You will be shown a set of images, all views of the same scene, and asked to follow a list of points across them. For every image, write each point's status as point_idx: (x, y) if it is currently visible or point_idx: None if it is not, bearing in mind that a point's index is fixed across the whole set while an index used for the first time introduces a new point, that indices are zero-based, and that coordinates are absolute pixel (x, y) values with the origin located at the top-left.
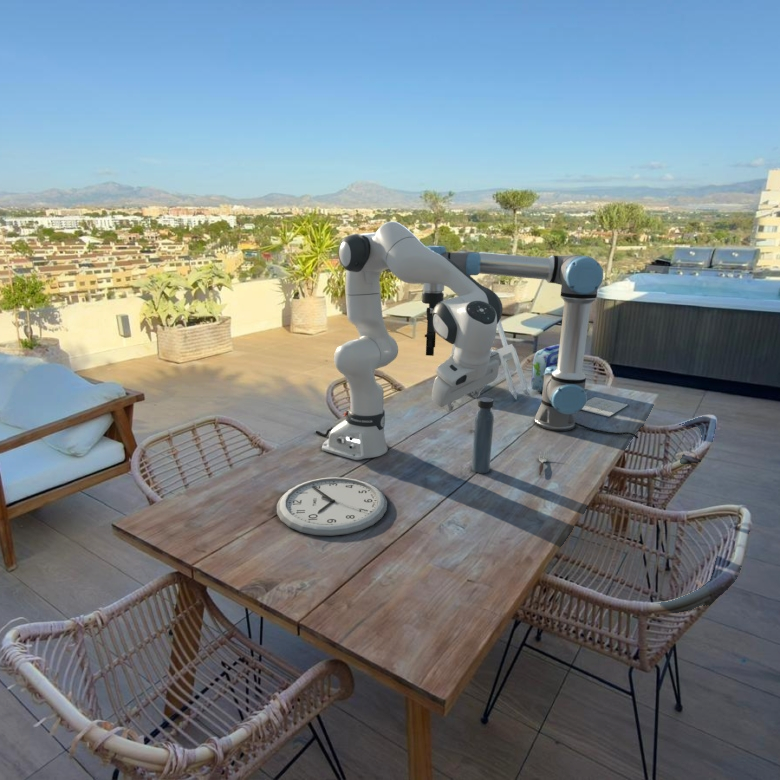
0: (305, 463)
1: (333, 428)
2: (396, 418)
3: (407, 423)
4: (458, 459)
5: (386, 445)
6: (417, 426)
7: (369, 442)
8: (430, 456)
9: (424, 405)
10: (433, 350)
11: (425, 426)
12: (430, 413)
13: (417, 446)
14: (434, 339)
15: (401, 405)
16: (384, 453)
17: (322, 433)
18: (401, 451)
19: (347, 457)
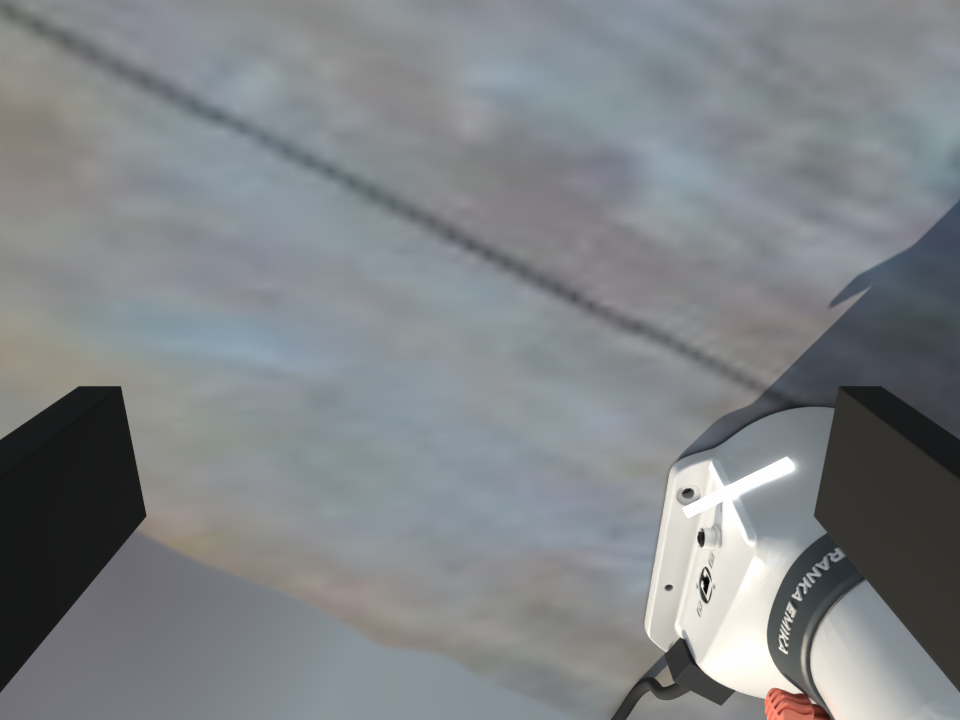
0: None
1: (813, 703)
2: (336, 409)
3: (404, 341)
4: (941, 4)
5: (815, 422)
6: (443, 280)
7: None
8: (889, 178)
9: (37, 260)
10: (951, 439)
11: (434, 231)
12: (186, 210)
13: (750, 259)
14: (22, 487)
15: None
16: None
17: (633, 699)
18: (818, 337)
19: None
